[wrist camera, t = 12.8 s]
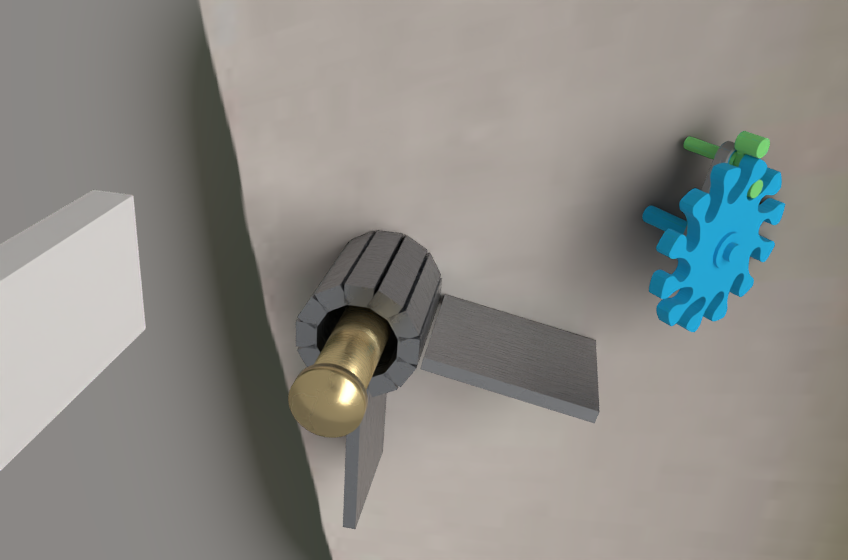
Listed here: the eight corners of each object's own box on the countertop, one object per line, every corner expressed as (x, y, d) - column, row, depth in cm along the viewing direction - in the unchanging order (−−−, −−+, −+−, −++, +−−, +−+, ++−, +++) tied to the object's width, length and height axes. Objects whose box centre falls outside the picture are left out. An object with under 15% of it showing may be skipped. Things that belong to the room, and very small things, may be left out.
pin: (359, 251, 50) (288, 366, 38) (418, 259, 50) (365, 378, 37) (357, 304, 52) (288, 430, 39) (414, 312, 51) (362, 443, 39)
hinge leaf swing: (441, 304, 51) (420, 369, 44) (445, 294, 50) (424, 357, 43) (591, 350, 50) (594, 423, 43) (595, 340, 50) (599, 411, 43)
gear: (745, 334, 46) (645, 342, 40) (666, 290, 51) (563, 291, 44) (827, 153, 43) (731, 131, 36) (734, 123, 47) (633, 98, 41)
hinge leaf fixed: (335, 224, 50) (296, 277, 43) (445, 239, 49) (423, 295, 42) (330, 442, 57) (295, 518, 50) (425, 458, 56) (403, 537, 49)
